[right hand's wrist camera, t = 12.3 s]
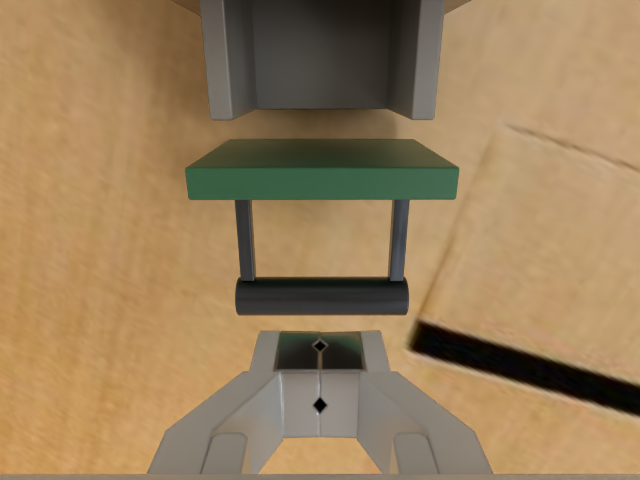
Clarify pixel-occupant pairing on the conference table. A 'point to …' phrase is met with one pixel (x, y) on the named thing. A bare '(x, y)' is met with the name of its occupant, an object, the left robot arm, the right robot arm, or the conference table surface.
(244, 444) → the right robot arm
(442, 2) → the drawer
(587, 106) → the conference table surface
